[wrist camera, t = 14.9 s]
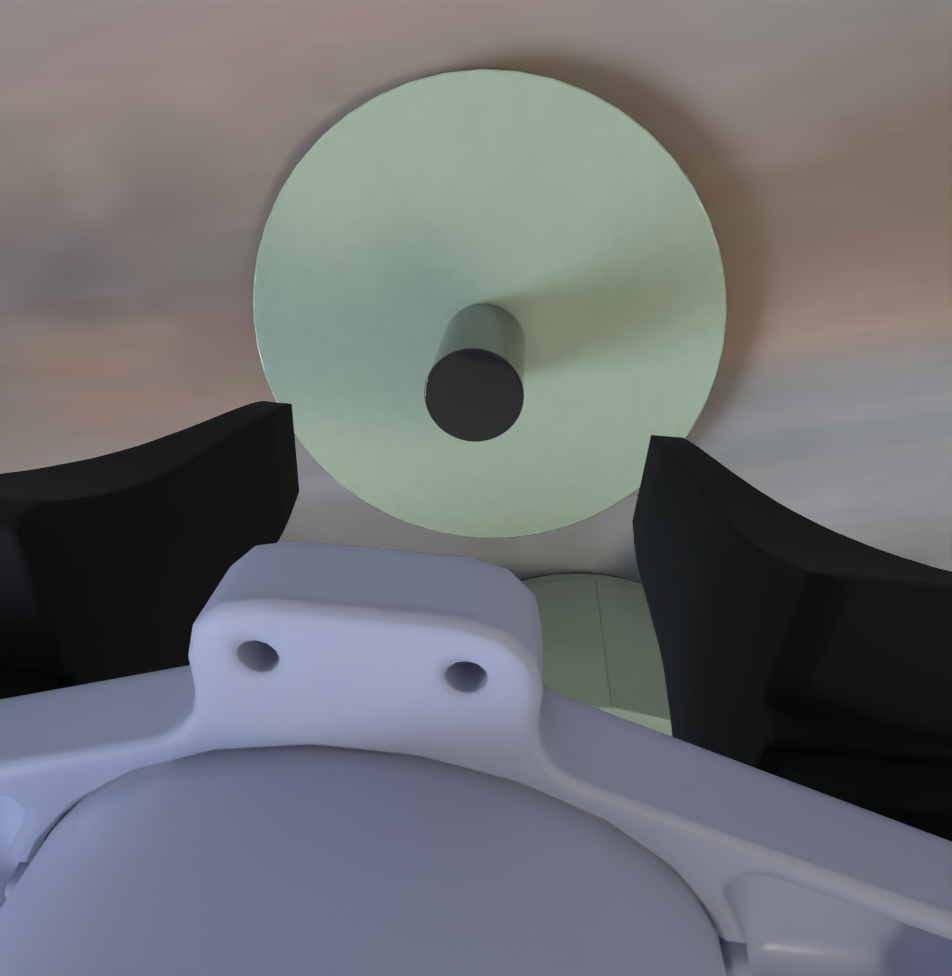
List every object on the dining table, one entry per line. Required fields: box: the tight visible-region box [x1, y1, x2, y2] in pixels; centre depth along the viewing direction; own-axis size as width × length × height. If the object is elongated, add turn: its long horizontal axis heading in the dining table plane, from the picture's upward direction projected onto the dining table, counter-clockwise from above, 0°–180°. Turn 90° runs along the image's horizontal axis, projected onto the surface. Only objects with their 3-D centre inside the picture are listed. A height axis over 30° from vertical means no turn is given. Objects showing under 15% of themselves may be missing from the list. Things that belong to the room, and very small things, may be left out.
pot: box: [521, 573, 672, 737], centre depth 25 cm, size 13×18×6 cm
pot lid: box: [253, 69, 727, 538], centre depth 18 cm, size 14×14×5 cm
